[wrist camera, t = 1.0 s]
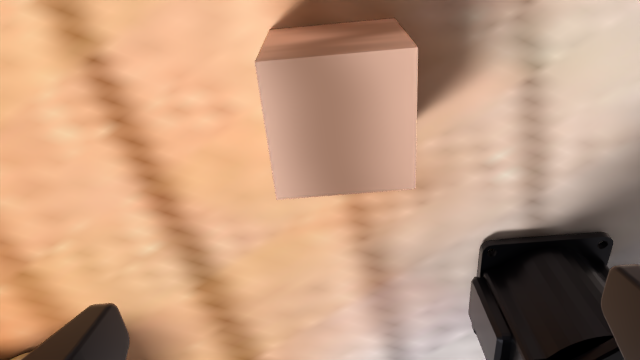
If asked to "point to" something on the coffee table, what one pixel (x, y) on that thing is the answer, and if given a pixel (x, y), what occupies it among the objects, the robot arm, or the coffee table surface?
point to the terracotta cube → (340, 108)
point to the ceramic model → (20, 357)
